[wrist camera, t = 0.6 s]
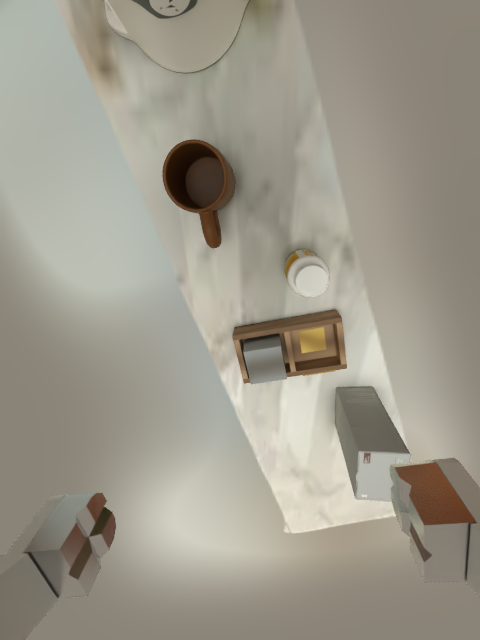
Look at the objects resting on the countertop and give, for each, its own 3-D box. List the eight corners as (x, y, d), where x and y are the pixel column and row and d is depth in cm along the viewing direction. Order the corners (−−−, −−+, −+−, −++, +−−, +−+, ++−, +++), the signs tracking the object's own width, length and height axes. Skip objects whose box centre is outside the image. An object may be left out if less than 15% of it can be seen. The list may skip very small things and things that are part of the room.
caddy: (234, 327, 49) (230, 344, 43) (335, 309, 47) (346, 325, 41) (245, 373, 52) (243, 395, 46) (341, 359, 50) (352, 380, 43)
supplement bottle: (289, 288, 46) (295, 308, 37) (279, 255, 44) (284, 267, 35) (323, 278, 45) (339, 296, 36) (315, 244, 43) (329, 253, 34)
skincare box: (370, 423, 54) (410, 505, 39) (329, 424, 54) (354, 504, 40) (374, 383, 51) (419, 455, 36) (331, 384, 52) (358, 455, 37)
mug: (247, 236, 44) (243, 243, 35) (198, 247, 45) (183, 257, 36) (228, 146, 40) (219, 128, 31) (175, 161, 41) (151, 148, 32)
